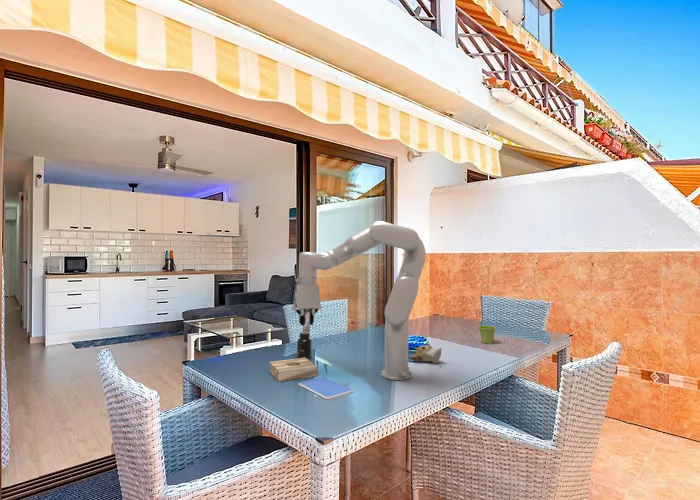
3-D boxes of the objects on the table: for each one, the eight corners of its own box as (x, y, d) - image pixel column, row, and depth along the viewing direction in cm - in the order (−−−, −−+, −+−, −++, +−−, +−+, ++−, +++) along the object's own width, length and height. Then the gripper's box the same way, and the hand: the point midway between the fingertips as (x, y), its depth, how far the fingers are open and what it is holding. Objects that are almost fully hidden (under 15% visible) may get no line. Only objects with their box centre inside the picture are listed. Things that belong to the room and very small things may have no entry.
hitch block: (317, 375, 157) (317, 366, 157) (279, 381, 149) (279, 371, 149) (305, 366, 169) (305, 357, 169) (269, 371, 162) (269, 362, 162)
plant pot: (474, 341, 219) (474, 326, 219) (488, 340, 222) (488, 325, 222) (485, 345, 210) (485, 329, 210) (499, 344, 213) (499, 328, 213)
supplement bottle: (297, 361, 177) (298, 335, 177) (295, 357, 184) (296, 331, 184) (312, 360, 179) (312, 334, 179) (310, 356, 186) (310, 331, 186)
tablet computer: (297, 385, 147) (297, 382, 147) (324, 379, 155) (324, 375, 155) (326, 401, 132) (326, 397, 132) (355, 393, 139) (355, 389, 139)
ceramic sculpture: (437, 346, 170) (405, 344, 178) (438, 366, 170) (406, 363, 177) (444, 342, 179) (414, 340, 187) (445, 361, 179) (414, 358, 187)
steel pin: (311, 331, 162) (311, 307, 162) (304, 332, 161) (304, 308, 161) (308, 330, 165) (309, 306, 165) (301, 330, 163) (302, 307, 163)
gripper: (291, 282, 156) (290, 327, 156) (328, 281, 163) (327, 325, 163) (286, 280, 162) (285, 324, 162) (322, 280, 170) (321, 322, 170)
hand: (306, 324), depth 163 cm, fingers closed on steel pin, 3 cm apart
